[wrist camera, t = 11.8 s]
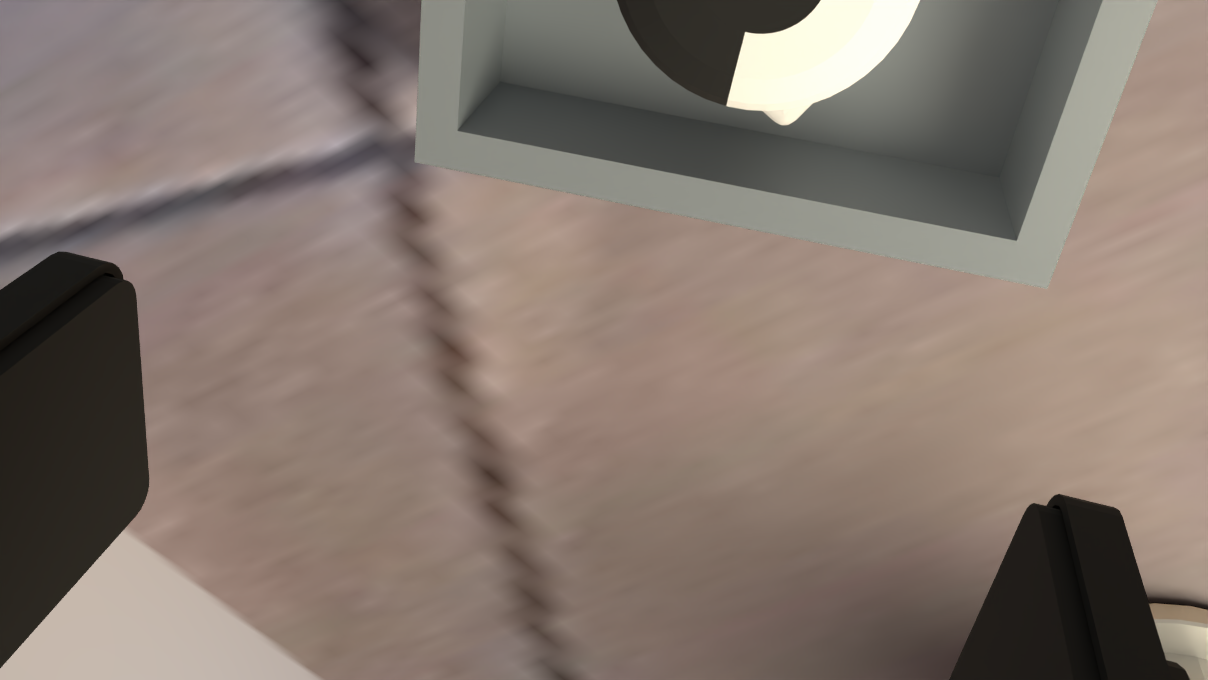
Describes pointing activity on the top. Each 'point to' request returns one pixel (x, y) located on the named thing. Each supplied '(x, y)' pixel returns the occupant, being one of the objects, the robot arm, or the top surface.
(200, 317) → the top surface
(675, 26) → the medicine bottle
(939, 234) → the bin
